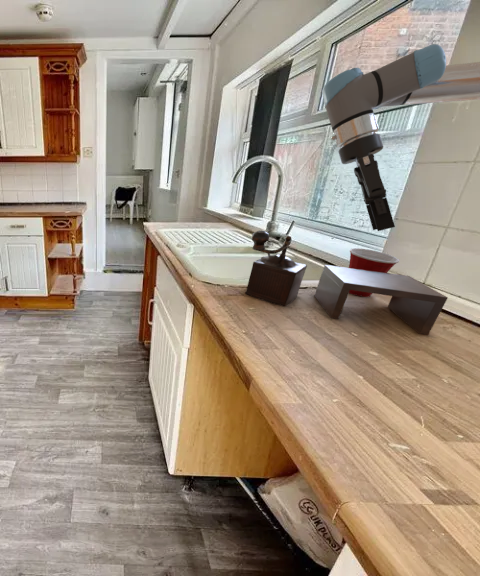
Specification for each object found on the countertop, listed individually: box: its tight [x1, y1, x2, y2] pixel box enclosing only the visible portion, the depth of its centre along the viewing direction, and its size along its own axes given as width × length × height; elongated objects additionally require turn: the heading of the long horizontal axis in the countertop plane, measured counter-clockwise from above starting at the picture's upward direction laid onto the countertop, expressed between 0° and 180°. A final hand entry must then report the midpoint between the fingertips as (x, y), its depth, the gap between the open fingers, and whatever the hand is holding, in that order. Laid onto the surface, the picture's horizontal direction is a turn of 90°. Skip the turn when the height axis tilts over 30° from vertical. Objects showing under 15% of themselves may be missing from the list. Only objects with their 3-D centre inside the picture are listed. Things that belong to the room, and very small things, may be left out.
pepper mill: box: [244, 230, 308, 307], centre depth 78 cm, size 16×11×18 cm
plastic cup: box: [348, 247, 400, 298], centre depth 86 cm, size 11×11×12 cm
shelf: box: [314, 264, 449, 336], centre depth 74 cm, size 18×15×9 cm
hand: (383, 228), depth 71 cm, fingers open, 13 cm apart
